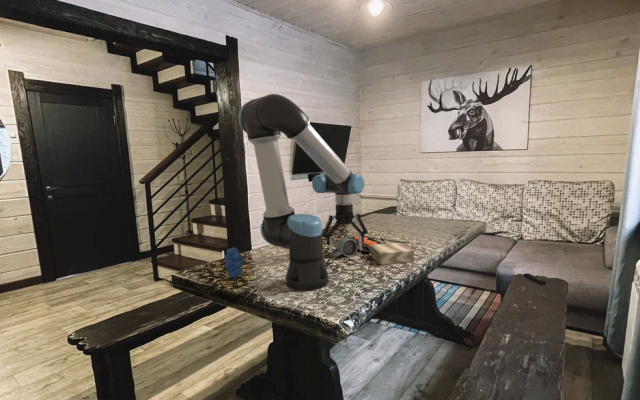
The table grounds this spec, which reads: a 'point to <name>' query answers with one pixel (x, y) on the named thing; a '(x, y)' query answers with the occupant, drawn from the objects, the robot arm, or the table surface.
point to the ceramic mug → (345, 247)
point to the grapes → (234, 262)
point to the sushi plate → (369, 242)
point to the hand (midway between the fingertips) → (345, 250)
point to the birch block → (391, 253)
